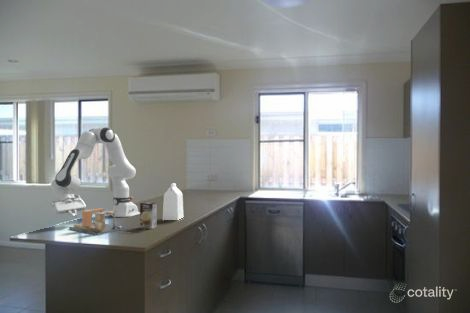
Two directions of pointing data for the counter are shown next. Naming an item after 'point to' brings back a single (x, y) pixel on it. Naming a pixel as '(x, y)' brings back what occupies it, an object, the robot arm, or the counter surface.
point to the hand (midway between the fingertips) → (74, 216)
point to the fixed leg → (98, 222)
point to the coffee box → (148, 215)
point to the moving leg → (89, 216)
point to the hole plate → (107, 229)
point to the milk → (173, 204)
